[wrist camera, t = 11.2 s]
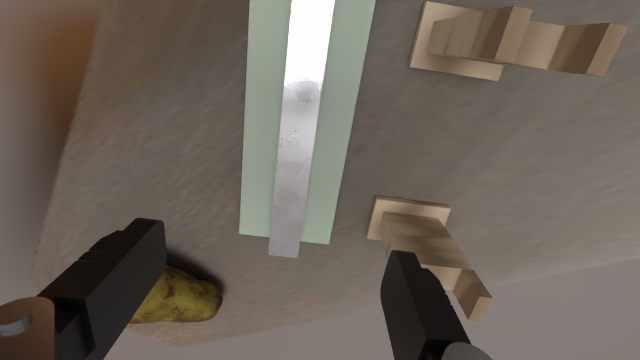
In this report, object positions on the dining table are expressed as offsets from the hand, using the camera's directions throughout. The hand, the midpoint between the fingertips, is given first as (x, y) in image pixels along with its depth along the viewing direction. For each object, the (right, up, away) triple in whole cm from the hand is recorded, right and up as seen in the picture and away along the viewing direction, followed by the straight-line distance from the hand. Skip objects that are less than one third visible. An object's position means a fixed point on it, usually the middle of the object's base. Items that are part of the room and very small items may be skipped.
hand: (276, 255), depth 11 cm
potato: (-16, -8, +26) cm, 32 cm away
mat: (-1, +8, +18) cm, 20 cm away
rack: (+12, +6, +19) cm, 24 cm away
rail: (0, +8, +18) cm, 19 cm away
